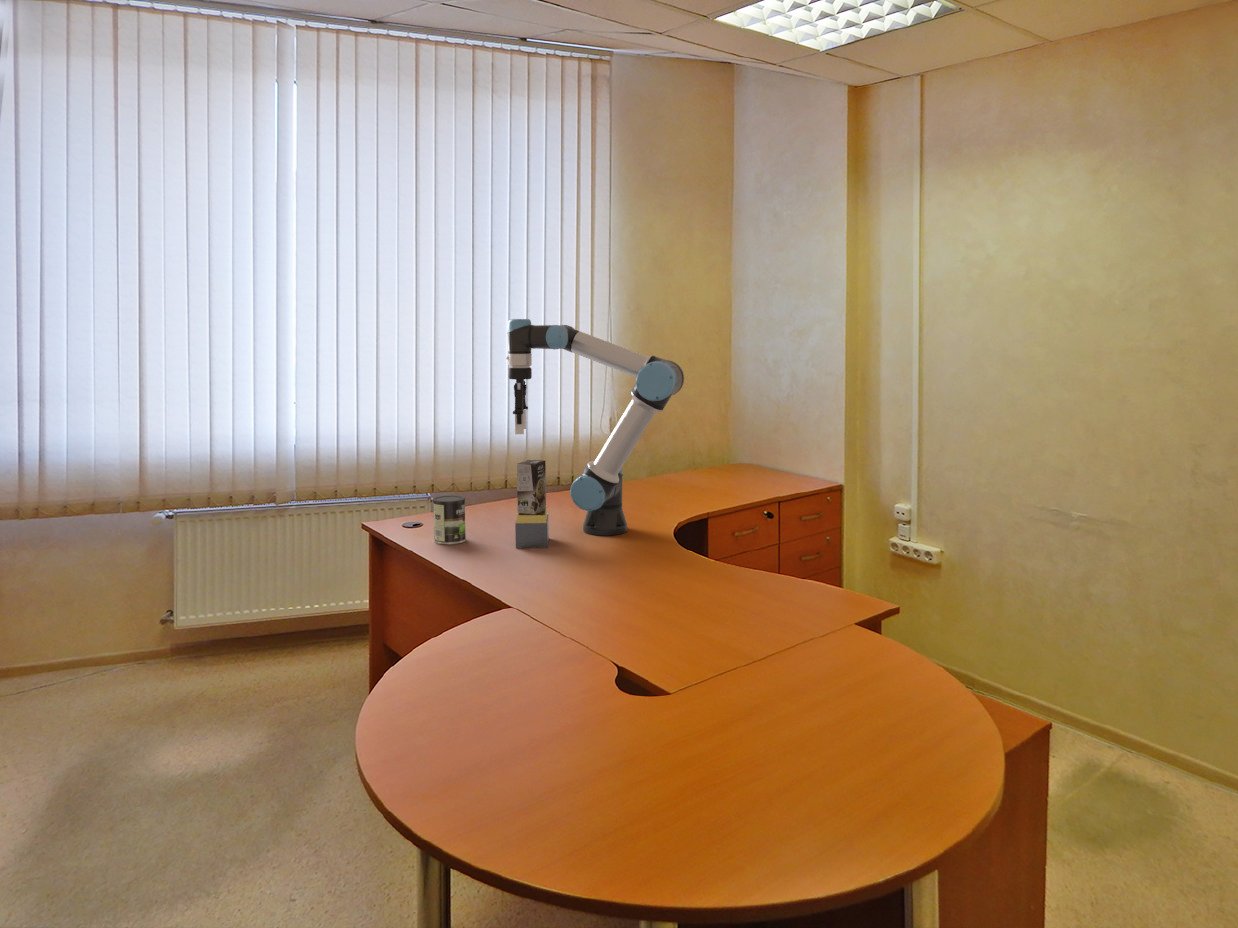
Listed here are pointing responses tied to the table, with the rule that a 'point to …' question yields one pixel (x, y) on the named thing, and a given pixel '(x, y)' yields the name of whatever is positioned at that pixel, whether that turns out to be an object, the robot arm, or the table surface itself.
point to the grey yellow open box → (532, 530)
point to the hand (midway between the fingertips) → (520, 431)
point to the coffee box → (531, 486)
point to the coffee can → (449, 519)
